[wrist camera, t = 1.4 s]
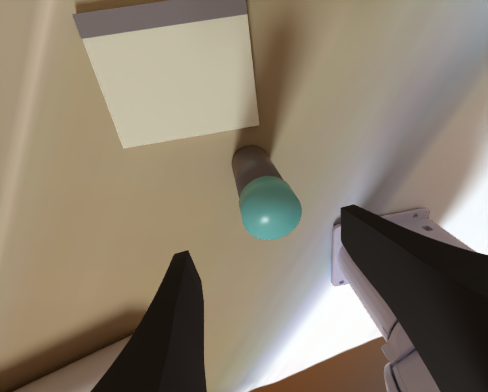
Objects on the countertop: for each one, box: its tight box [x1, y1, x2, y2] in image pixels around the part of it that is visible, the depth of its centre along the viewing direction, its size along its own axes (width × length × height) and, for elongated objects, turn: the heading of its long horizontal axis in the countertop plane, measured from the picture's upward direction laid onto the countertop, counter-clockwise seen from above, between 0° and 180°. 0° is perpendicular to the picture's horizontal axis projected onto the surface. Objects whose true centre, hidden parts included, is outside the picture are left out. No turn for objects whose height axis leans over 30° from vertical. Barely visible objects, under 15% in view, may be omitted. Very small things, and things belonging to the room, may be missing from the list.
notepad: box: [72, 0, 259, 148], centre depth 17 cm, size 10×8×1 cm
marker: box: [232, 145, 302, 240], centre depth 17 cm, size 3×3×8 cm
